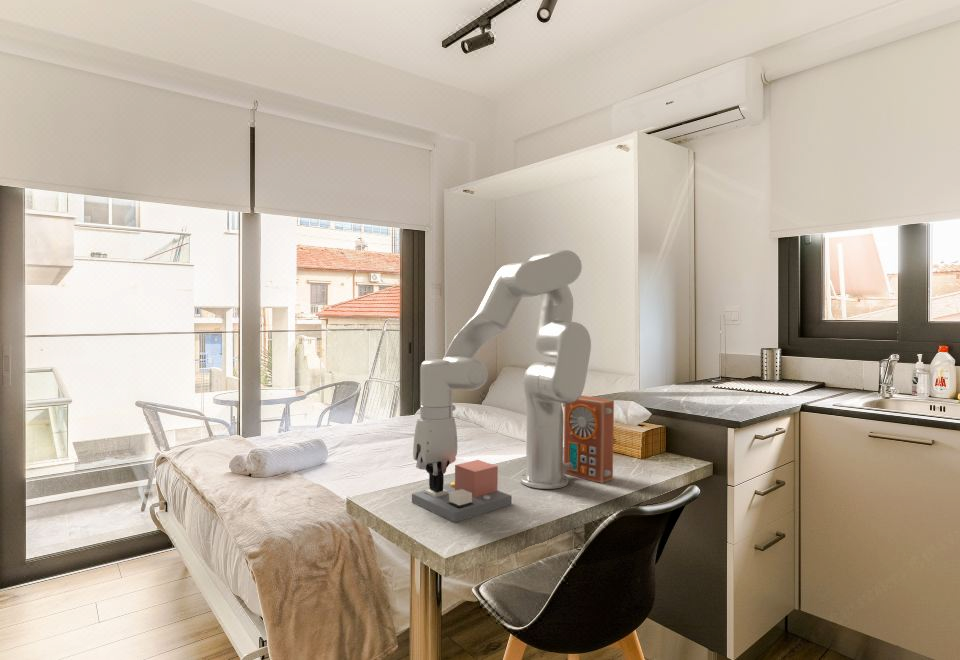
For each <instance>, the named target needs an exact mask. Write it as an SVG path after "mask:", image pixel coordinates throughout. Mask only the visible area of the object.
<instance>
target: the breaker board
mask: <svg viewBox="0 0 960 660" xmlns="http://www.w3.org/2000/svg"><path fill="white" fill-rule="evenodd" d="M443 489H444V490H446V491H447V495H443V496H439V497H436V498H433V497H431V496H429V495H427V494H426V490H427V489H425V490H424V489H423V490H421V491H417V492H413V493H411V503H413V504H415V505H417V506H419V507H422V508H423V509H425V510H428V511H430V512H433V513H434V514H435V515H438V516H440V517H442V518H445V519H447V520H449V521H451V522H453V523H457V522H461V521H463V520H467V519H469V518H473V517H475V516H479V515H482V514H485V513H488V512H491V511H495V510H497V509H500V508H503V507H504V508H505V507H507V506H510V505H512V501H513V500H512V497H513V496H512V494H509V493H506V492H503V491H500V490H498V489H497V491H496V492H493V493H489V494H486V495H482V496H479V497H476V498H474V497H472V502H470V503H467V504H463V505H460V506H459V505H457V504H455V503H452V502H450V501H449V492H452V491H456V490H455V482H450V483H448V484H443Z"/></svg>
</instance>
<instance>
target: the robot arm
mask: <svg viewBox="0 0 960 660" xmlns="http://www.w3.org/2000/svg"><path fill="white" fill-rule="evenodd" d="M582 268H583V267H582V260H581V259H580V257H579V255H578V254H577V253H576V252H574V251H573V250H569V249H560V250H553V251H546V252H540V253H537V254H534V255H532V256H531V257H530V258H529V259H528V260H527V261H520V262H513V263H507V264H504V265H502V266H501V267H500V268H499V269H498V270H497V271H496V273H495V275H494V276H493V278H492V281H491V283H490V285H489V286H488V288H487V291H486V293H485V295H484V297H483V299H482V300H481V302H480V305H479V306H478V309H477V310H476V312H475V313H474V315H473V316H472V317H471V318H470V319H469V320H468V321H467V322H466V323H465V324H464V326H463V327H462V328H461V329H460V330H459V331H458V333H456V335H455V336H454V338H452V341H451V342H450V344H449V346H448V347H447V350H446V352H445V354H444V356H443V358H442V359H441V358H440V359H437V358H436V359H435V358H434V359H426V360H423V361H422V362H421V364H420V369H419V370H420V371H419V372H420V373H419V374H420V378H419V380H420V388H419V389H420V396H419V397H420V398H419V399H420V400H419V401H420V408H419V409H420V411H419V412H420V418H418V419H417V421H416V424H415V429H414V435H413V437H414V438H413V449H412V450H413V451H412V457H413V460H415V461H416V465H415V466H416V468H417V469H418V470H422V471H426V473H427V474H428V479H429V480H428V483H429V484H428V485H429V489H430V490H433V491H435V492H439V491H443V485H445V484H444V475H445V473H446V472H447V468H448V467H449V466H450V465H451V464H453V463H454V462H456V460H457V458H456V456H457V455H458V434H457V433H458V432H457V425H456V419H455V417H454V416H453V414H454V412H455V411H456V406H455V405H454V404H453V403H454V402H453V401H454V400H453V397H454V394H453V393H454V392H453V391H454V390H456V391H457V390H458V391H475V390H478V389H481V388H482V387H483V386H484V385H485V384H486V382H487V381H488V377H489V375H488V369H487V367H486V365H485V364H484V363H483V362H481V361H479V359H478V360H477V359H475V355H476V354H477V352H478V351H479V350H480V349H481V348H482V347H483V346H484V345H485V344H486V343H487V342H489V341H490V340H492V339H494V338H496V337H497V336H500V335H502V333H504V332H505V331H506V330H507V329H508V328H509V325H510V323H511V321H512V319H513V317H514V315H515V312H516V311H517V308H518V307H519V304H520V303H521V300H522V298H531V297H532V298H533V297H537V296H540V311H539V317H538V323H537V329H536V335H535V347H536V350H537V352H538V353H539V354H541V355H542V356H545V357H549V358H554V359H556V361H555V362H553V361H552V362H551V361H537V362H534V363H532V364H530V365H529V367H527V369H526V370H525V373H524V376H523V390H524V395H525V400H526V450H525V451H526V453H525V454H526V457H525V458H526V459H525V460H526V461H525V462H526V463H525V464H526V465H525V469H526V471H525V472H524V473H522V474H521V475H520V480H519V481H520V483H521V484H523V485H524V486H526V487H529V488H533V489H541V490H552V489H560V488H564V487H566V486H568V484H569V477H568V476H567V474H565V472H566V470H570V469H573V464H572V463H571V462H568V463H563V461H564V410H563V405H562V404H563V403H572V402H575V401H576V400H577V399H578V398H579V397H580V396H581V395H582V394H583V392H584V389H585V386H586V381H587V376H588V369H589V362H590V358H591V357H590V356H591V352H592V351H591V350H592V340H591V339H592V338H591V335H590V333H589V330H588V329H587V327H586V326H584V325H583V324H581V323H579V322H577V321H573V315H574V314H573V313H574V312H573V311H574V297H573V294H572V291H571V289H570V288H569V285H571V284H573V283H575V282H576V280H578V279H579V277H580V276H581V273H582Z"/></svg>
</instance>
